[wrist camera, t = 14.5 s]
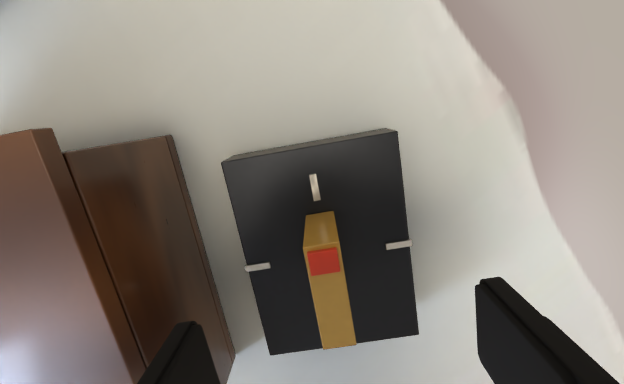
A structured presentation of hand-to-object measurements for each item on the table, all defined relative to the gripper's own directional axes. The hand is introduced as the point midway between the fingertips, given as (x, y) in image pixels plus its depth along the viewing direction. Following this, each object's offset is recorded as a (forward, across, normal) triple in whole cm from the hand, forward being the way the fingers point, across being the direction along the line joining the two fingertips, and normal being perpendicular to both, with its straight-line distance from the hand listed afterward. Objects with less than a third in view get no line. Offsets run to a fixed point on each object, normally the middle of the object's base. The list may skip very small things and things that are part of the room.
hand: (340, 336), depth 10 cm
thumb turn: (+7, 0, 0) cm, 7 cm away
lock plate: (+9, 0, 0) cm, 9 cm away
